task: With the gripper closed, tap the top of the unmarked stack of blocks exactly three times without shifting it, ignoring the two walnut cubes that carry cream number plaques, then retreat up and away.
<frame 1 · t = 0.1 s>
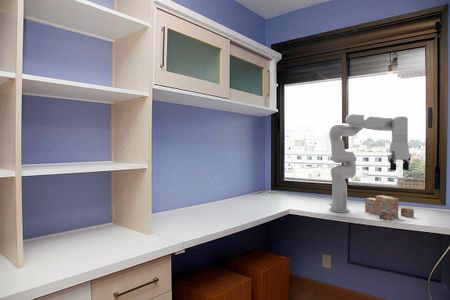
hand: (399, 170, 163), 31 cm above the table, fingers open, 9 cm apart
marked walnut cube B: (407, 216, 188), on the table
stack of blocks: (381, 214, 193), on the table
marked walnut cube A: (385, 219, 180), on the table
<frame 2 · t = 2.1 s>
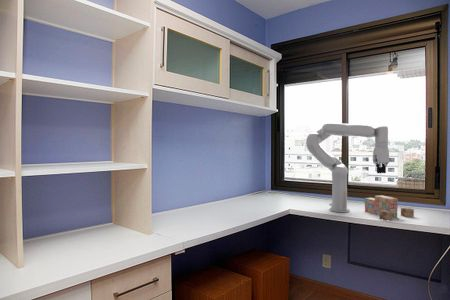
hand: (381, 172, 193), 27 cm above the table, fingers open, 3 cm apart
nothing on the table moved.
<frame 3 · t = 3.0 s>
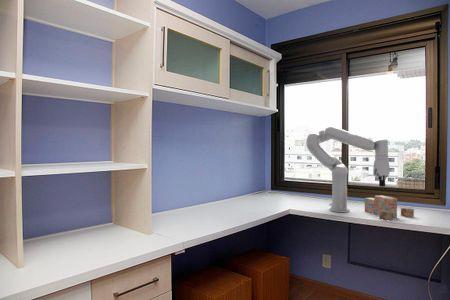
hand: (382, 186, 193), 18 cm above the table, fingers closed
nothing on the table moved.
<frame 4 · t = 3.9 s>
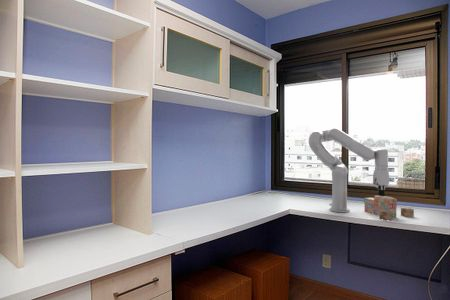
hand: (381, 195, 193), 12 cm above the table, fingers closed
stack of blocks: (379, 214, 194), on the table, touching gripper
everything else where it was.
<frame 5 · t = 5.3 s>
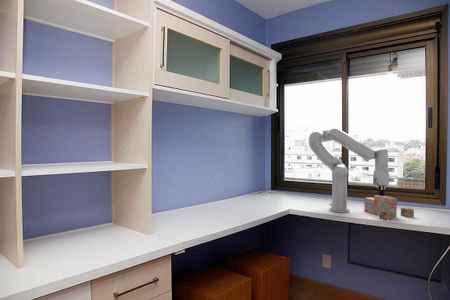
hand: (381, 195, 193), 12 cm above the table, fingers closed
nothing on the table moved.
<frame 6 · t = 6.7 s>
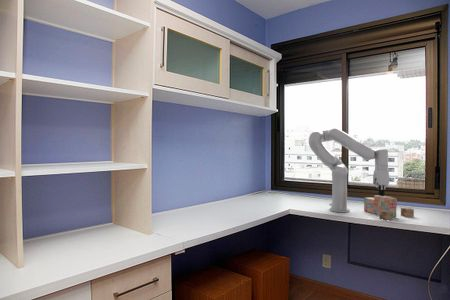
hand: (381, 195, 193), 12 cm above the table, fingers closed
nothing on the table moved.
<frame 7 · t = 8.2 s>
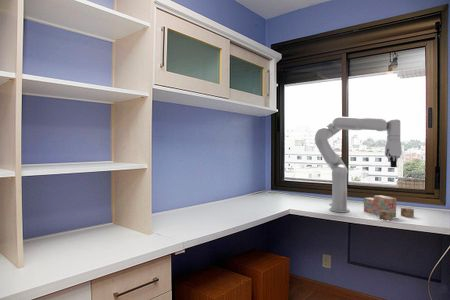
hand: (393, 167, 190), 31 cm above the table, fingers closed
stack of blocks: (379, 214, 194), on the table
everything else where it was.
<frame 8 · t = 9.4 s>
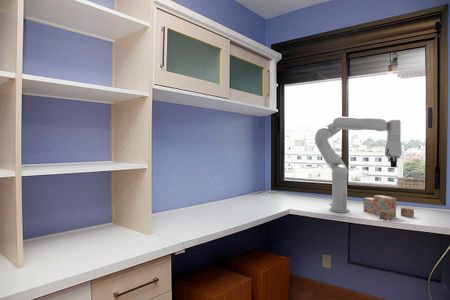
hand: (393, 167, 190), 31 cm above the table, fingers closed
nothing on the table moved.
at the end: stack of blocks moved 1.4 cm from its start; stack of blocks tilted 0°; the gripper is holding nothing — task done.
